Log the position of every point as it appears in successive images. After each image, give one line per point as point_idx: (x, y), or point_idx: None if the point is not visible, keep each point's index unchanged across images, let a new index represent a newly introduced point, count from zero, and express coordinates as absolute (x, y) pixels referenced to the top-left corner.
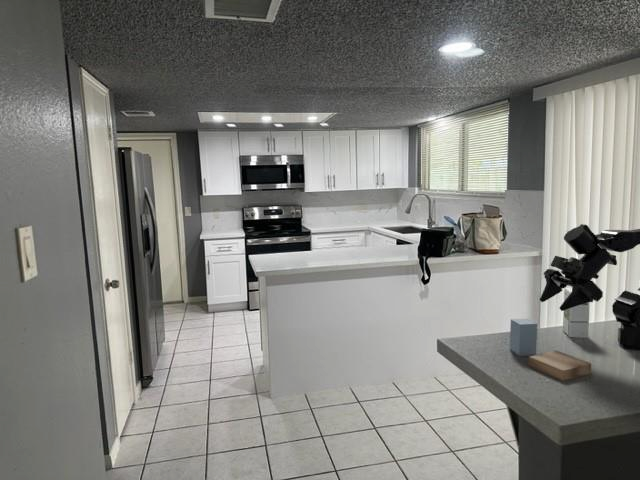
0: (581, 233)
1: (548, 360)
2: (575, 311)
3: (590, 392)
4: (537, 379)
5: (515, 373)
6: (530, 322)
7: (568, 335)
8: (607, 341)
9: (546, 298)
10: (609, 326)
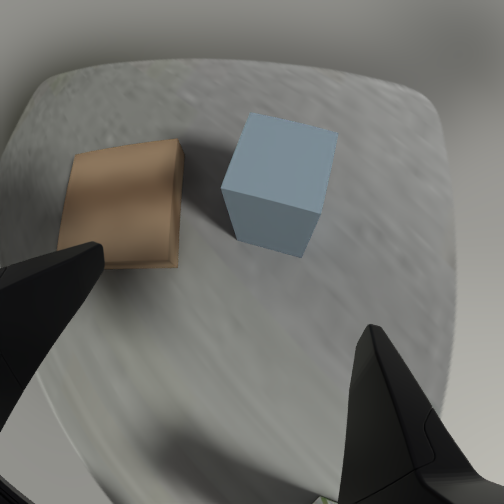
0: None
1: (127, 167)
2: None
3: (37, 179)
4: (123, 123)
5: (170, 101)
6: (253, 172)
7: (323, 498)
8: None
9: (355, 386)
10: None
